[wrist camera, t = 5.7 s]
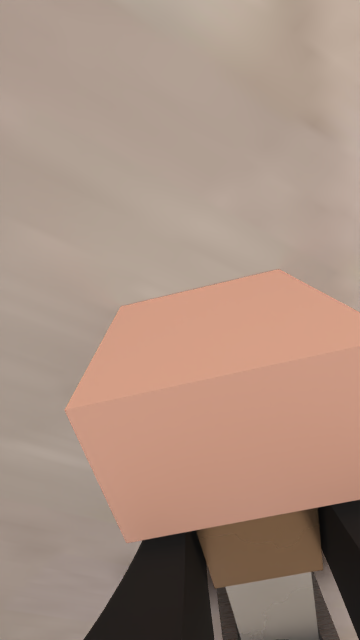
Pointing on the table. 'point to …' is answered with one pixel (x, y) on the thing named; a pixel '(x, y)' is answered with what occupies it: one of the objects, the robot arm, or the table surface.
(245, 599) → the tube
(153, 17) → the table surface
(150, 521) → the socket block
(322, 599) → the outer sleeve
